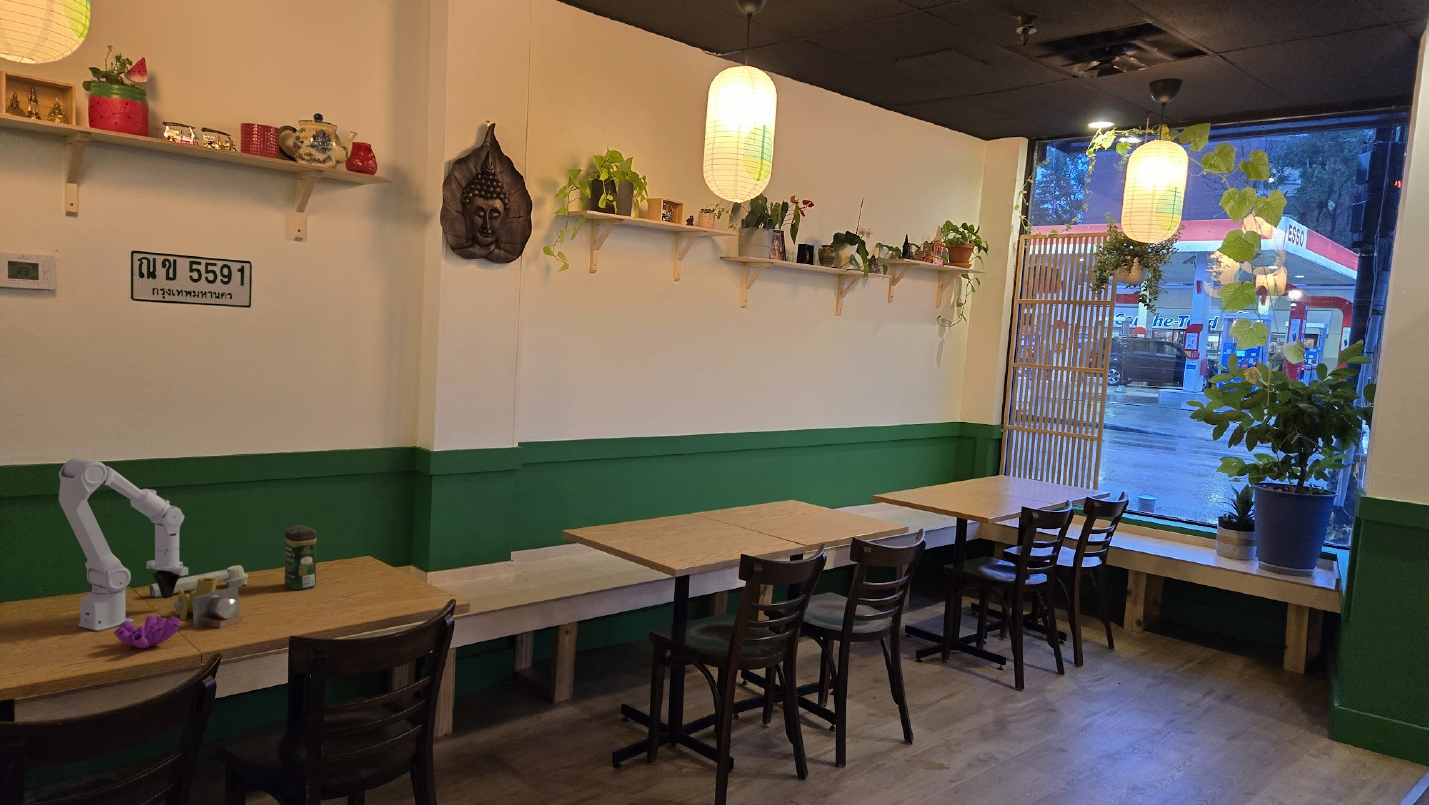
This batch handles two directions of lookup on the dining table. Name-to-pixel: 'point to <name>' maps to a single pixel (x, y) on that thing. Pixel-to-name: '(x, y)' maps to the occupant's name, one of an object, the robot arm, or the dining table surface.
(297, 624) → the dining table surface
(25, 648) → the dining table surface
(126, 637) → the purple tube coral
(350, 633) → the dining table surface
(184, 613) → the ball valve
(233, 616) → the fitting
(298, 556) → the coffee jar
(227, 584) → the grey piece
